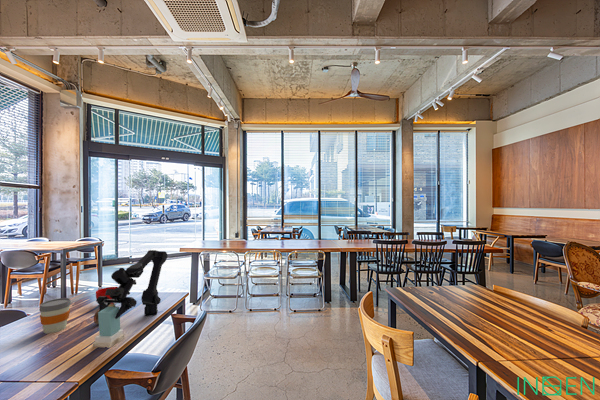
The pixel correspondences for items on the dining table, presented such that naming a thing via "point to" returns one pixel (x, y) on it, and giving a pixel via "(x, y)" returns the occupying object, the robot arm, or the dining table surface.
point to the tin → (97, 314)
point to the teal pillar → (108, 321)
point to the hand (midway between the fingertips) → (107, 318)
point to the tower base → (108, 343)
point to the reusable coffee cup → (54, 314)
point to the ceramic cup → (103, 292)
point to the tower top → (108, 337)
